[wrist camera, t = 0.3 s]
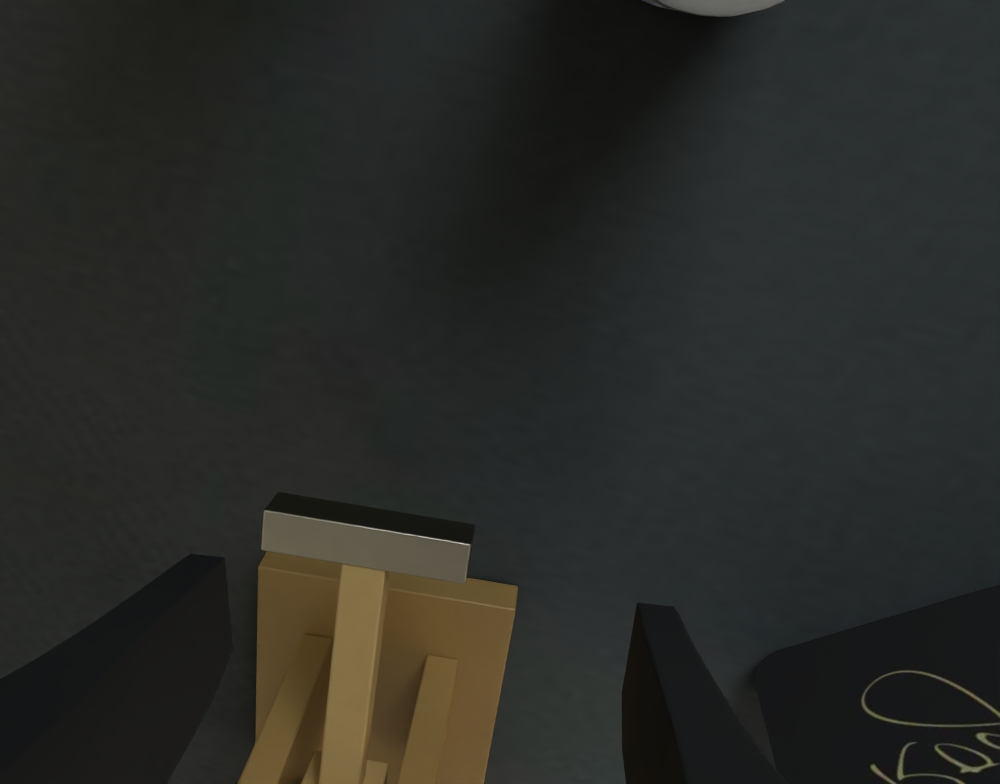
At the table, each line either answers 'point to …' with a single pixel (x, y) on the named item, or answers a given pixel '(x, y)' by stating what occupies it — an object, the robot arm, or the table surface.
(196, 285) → the table surface
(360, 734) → the handle
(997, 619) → the nameplate
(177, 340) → the table surface
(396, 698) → the wooden lever stand
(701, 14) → the pill bottle
